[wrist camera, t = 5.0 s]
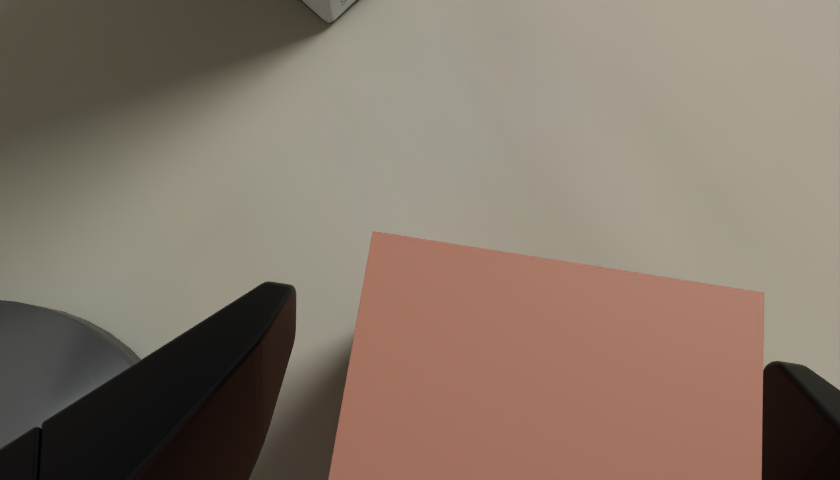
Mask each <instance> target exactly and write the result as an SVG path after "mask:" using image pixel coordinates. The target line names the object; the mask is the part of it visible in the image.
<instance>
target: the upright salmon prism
mask: <svg viewBox="0 0 840 480" xmlns="http://www.w3.org/2000/svg"><path fill="white" fill-rule="evenodd" d="M763 344H764V293H763V292H756V291H750V290H744V289H737V288H731V287H725V286H718V285H712V284H705V283H699V282H693V281H686V280H680V279H674V278H667V277H661V276H654V275H648V274H642V273H635V272H629V271H623V270H616V269H610V268H603V267H597V266H591V265H584V264H578V263H572V262H565V261H559V260H552V259H546V258H540V257H533V256H527V255H521V254H514V253H508V252H501V251H495V250H489V249H482V248H476V247H470V246H463V245H457V244H450V243H444V242H438V241H431V240H425V239H419V238H412V237H406V236H400V235H393V234H387V233H380V232H374V231H373V232H372V238H371V243H370V249H369V255H368V260H367V266H366V271H365V277H364V283H363V288H362V294H361V299H360V305H359V310H358V316H357V322H356V327H355V333H354V338H353V344H352V350H351V355H350V361H349V366H348V372H347V377H346V383H345V389H344V394H343V400H342V405H341V411H340V417H339V422H338V428H337V433H336V439H335V444H334V450H333V456H332V461H331V467H330V472H329V478H328V480H762V414H763Z"/></svg>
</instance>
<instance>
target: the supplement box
mask: <svg viewBox="0 0 840 480" xmlns="http://www.w3.org/2000/svg"><path fill="white" fill-rule="evenodd" d="M302 1H303V2H304V3H305V4H306V5H308V6H309V7H310V8H311V9H312V10H313V11H314V12H316V13H317V14H318V15H319V16H320V17H321V18H322V19H323V20H325V21H326V22H329V23H330V22H332V21H334V20H335V19H336V18H338V17H339V16H340V15H341V14H342V13H343V12H344V11H345V10H346V9H347V8H348V7H349V6H350V5H351V4H352V3H353V2H354V1H356V0H302Z"/></svg>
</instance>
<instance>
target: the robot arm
mask: <svg viewBox="0 0 840 480" xmlns="http://www.w3.org/2000/svg"><path fill="white" fill-rule="evenodd" d="M295 332H296V290H295V288H294V287H293V286H292V285H289V284H283V283H277V282H264V283H262V284H261V285H259V286H257V287H256V288H254V289H253V290H251V291H250V292H248V293H246V294H245V295H243V296H242V297H240V298H238V299H237V300H235V301H234V302H232V303H231V304H229V305H227V306H226V307H224V308H223V309H221V310H219V311H218V312H216V313H215V314H213V315H212V316H210V317H208V318H207V319H205V320H204V321H202V322H200V323H199V324H197V325H196V326H194V327H193V328H191V329H189V330H188V331H186V332H185V333H183V334H181V335H180V336H178V337H177V338H175V339H173V340H172V341H170V342H169V343H167V344H166V345H164V346H162V347H161V348H159V349H158V350H156V351H154V352H153V353H151V354H150V355H148V356H147V357H145V358H143V359H142V360H140V361H139V362H137V363H135V364H134V365H132V366H131V367H129V368H128V369H126V370H124V371H123V372H121V373H120V374H118V375H116V376H115V377H113V378H112V379H110V380H109V381H107V382H105V383H104V384H102V385H101V386H99V387H97V388H96V389H94V390H93V391H91V392H90V393H88V394H86V395H85V396H83V397H82V398H80V399H78V400H77V401H75V402H74V403H72V404H71V405H69V406H67V407H66V408H64V409H63V410H61V411H59V412H58V413H56V414H55V415H53V416H52V417H50V418H48V419H47V420H45V421H44V422H43V423H42V425H41V428H40V427H34V428H32V429H30V430H29V431H27V432H26V433H24V434H23V435H21V436H19V437H18V438H16V439H15V440H13V441H11V442H10V443H8V444H7V445H5V446H4V447H2V448H0V480H249V477H250V475H251V473H252V470H253V468H254V466H255V464H256V461H257V459H258V456H259V454H260V451H261V449H262V446H263V444H264V441H265V438H266V435H267V432H268V429H269V426H270V422H271V419H272V416H273V412H274V409H275V405H276V402H277V399H278V395H279V392H280V388H281V385H282V382H283V378H284V375H285V372H286V368H287V365H288V361H289V358H290V355H291V351H292V348H293V344H294V339H295ZM762 480H840V390H839V389H837V388H836V387H834V386H833V385H832V384H830V383H829V382H827V381H826V380H824V379H823V378H822V377H820V376H819V375H817V374H816V373H815V372H813V371H812V370H810V369H809V368H807V367H806V366H803V365H800V364H794V363H787V362H781V361H774V362H771V363H769V364H768V365H766V367H765V368H764V370H763V414H762Z"/></svg>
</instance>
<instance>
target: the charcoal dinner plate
mask: <svg viewBox="0 0 840 480" xmlns="http://www.w3.org/2000/svg"><path fill="white" fill-rule="evenodd" d="M140 360H141V359H140V358H139V357H138V356H137V355H136V354H135V353H134V352H133V351H132V350H131V349H130V348H129V347H128V346H126V345H125V344H124V343H122V342H121V341H120V340H118V339H117V338H116V337H114V336H113V335H112V334H111V333H109V332H107V331H105V330H103V329H102V328H100V327H98V326H96V325H94V324H93V323H91V322H89V321H87V320H84V319H82V318H79V317H76V316H74V315H71V314H68V313H66V312H62V311H58V310H53V309H49V308H45V307H40V306H35V305H30V304H24V303H19V302H13V301H2V300H0V448H2V447H4V446H5V445H7V444H8V443H10V442H11V441H13V440H15V439H16V438H18V437H19V436H21V435H23V434H24V433H26V432H27V431H29V430H30V429H32V428H34V427H40V428H41V425H42V423H43V422H44V421H45V420H47V419H48V418H50V417H52V416H53V415H55V414H56V413H58V412H59V411H61V410H63V409H64V408H66V407H67V406H69V405H71V404H72V403H74V402H75V401H77V400H78V399H80V398H82V397H83V396H85V395H86V394H88V393H90V392H91V391H93V390H94V389H96V388H97V387H99V386H101V385H102V384H104V383H105V382H107V381H109V380H110V379H112V378H113V377H115V376H116V375H118V374H120V373H121V372H123V371H124V370H126V369H128V368H129V367H131V366H132V365H134V364H135V363H137V362H139V361H140Z"/></svg>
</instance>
